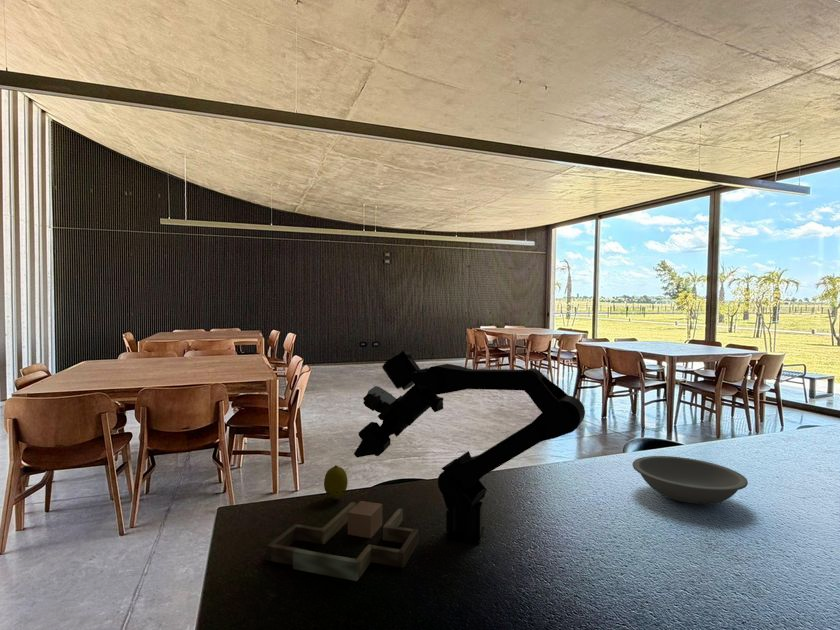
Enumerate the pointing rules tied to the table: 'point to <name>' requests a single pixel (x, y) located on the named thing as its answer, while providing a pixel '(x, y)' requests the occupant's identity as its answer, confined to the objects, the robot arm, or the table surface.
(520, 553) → the table surface
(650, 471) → the soup bowl
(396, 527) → the box
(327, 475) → the lemon
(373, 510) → the block
